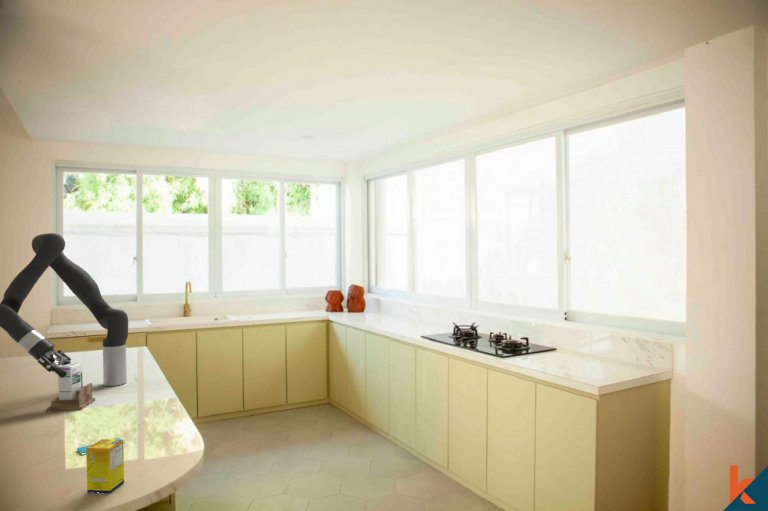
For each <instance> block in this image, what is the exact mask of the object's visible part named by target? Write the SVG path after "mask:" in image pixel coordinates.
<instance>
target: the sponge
mask: <svg viewBox="0 0 768 511" xmlns="http://www.w3.org/2000/svg"><path fill="white" fill-rule="evenodd" d="M115 439H121V437H117V438H115ZM123 441H124V442H125V440H124V439H123ZM93 444H94V443H92V444H88V445H85V446H81V447H77V448H76V451H77V450H78V451H79V452H81V453H86V448H87V447H89V446H91V445H93ZM78 451H77V452H78ZM79 452H78V453H79Z"/></svg>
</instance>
